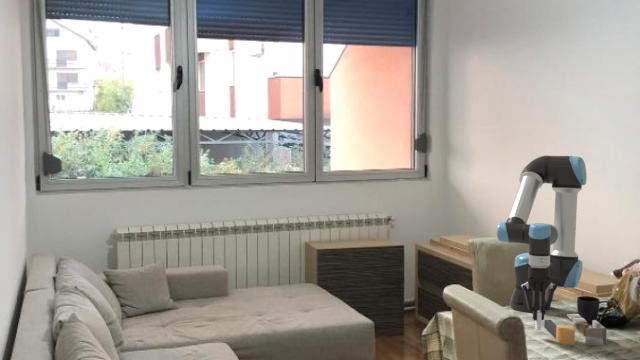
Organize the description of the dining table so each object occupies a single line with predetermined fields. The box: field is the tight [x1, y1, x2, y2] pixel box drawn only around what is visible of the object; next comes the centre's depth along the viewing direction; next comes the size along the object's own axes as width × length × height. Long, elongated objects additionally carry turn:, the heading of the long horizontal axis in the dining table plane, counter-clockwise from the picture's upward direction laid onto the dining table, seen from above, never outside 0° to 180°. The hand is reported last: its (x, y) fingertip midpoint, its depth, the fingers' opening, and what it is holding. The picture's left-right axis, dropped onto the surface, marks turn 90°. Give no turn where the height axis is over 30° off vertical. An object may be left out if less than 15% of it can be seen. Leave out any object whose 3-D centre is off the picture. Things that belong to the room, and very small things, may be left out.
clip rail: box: [566, 313, 608, 346], centre depth 260 cm, size 22×7×6 cm, turn 179°
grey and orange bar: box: [543, 319, 576, 345], centre depth 261 cm, size 19×5×5 cm, turn 0°
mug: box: [576, 295, 611, 325], centre depth 275 cm, size 8×12×10 cm
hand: (538, 328), depth 258 cm, fingers closed
